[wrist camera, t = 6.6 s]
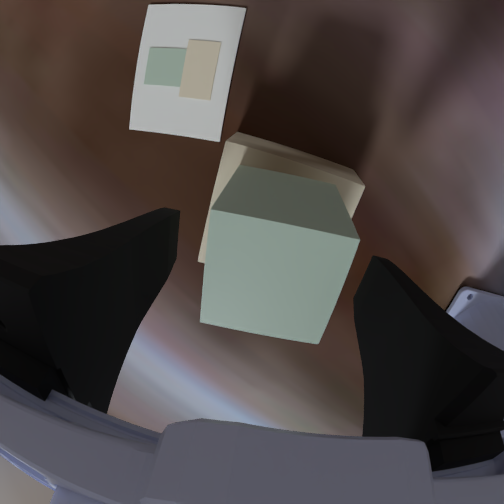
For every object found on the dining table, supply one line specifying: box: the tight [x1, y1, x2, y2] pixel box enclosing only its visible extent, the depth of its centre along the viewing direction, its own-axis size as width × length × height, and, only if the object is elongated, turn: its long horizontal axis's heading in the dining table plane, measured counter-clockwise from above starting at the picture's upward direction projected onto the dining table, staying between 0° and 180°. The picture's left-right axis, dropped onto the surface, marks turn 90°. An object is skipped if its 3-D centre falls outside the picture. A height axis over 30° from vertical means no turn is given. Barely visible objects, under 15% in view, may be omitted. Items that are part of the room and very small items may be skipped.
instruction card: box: [129, 4, 246, 142], centre depth 13 cm, size 5×7×1 cm
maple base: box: [198, 132, 365, 263], centre depth 15 cm, size 6×6×3 cm
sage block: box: [200, 165, 360, 344], centre depth 11 cm, size 4×4×5 cm
